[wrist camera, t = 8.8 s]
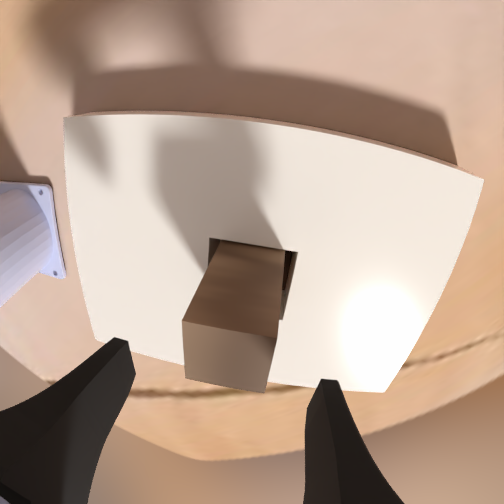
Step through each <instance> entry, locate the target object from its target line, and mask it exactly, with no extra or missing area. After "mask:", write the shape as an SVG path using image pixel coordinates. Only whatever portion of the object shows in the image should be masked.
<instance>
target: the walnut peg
mask: <svg viewBox="0 0 504 504" xmlns="http://www.w3.org/2000/svg"><path fill="white" fill-rule="evenodd" d="M284 259H285V250H283V249H277V248H271V247H265V246H259V245H253V244H247V243H241V242H235V241H229V240H221V242H220V244H219V246H218V248H217V250H216V252H215V254H214V256H213V258H212V260H211V262H210V264H209V266H208V268H207V270H206V272H205V274H204V276H203V278H202V280H201V282H200V284H199V286H198V288H197V290H196V292H195V294H194V296H193V298H192V300H191V302H190V304H189V306H188V308H187V311H186V313H185V315H184V317H183V319H182V337H183V352H184V366H185V378H187V379H191V380H195V381H200V382H204V383H209V384H214V385H219V386H224V387H229V388H235V389H241V390H246V391H253V392H259V393H264V392H265V388H266V384H267V380H268V376H269V372H270V368H271V364H272V359H273V355H274V351H275V347H276V342H277V338H278V327H279V317H280V306H281V295H282V283H283V272H284Z"/></svg>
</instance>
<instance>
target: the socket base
mask: <svg viewBox="0 0 504 504" xmlns="http://www.w3.org/2000/svg"><path fill="white" fill-rule="evenodd" d="M64 160H65V176H66V189H67V199H68V208H69V217H70V224H71V231H72V238H73V244H74V250H75V256H76V261H77V266H78V271H79V276H80V281H81V285H82V290H83V294H84V298H85V302H86V306H87V310H88V314H89V318H90V322H91V325H92V329H93V332H94V336H95V339H96V340H98V341H101V342H104V343H107V342H108V341H110V340H111V339H112V338H114V337H116V338H120V339H123V340H127V341H128V343H129V347H130V351H133V352H136V353H139V354H143V355H146V356H150V357H154V358H157V359H161V360H165V361H169V362H173V363H177V364H181V365H184V352H183V337H182V319H183V317H184V315H185V313H186V311H187V308H188V306H189V304H190V302H191V300H192V298H193V296H194V294H195V292H196V290H197V288H198V286H199V284H200V282H201V280H202V278H203V276H204V274H205V272H206V270H207V268H208V266H209V264H210V262H211V260H212V258H213V256H214V254H215V252H216V250H217V248H218V246H219V244H220V239H222V240H229V241H235V242H241V243H247V244H253V245H259V246H265V247H271V248H277V249H283V250H289V251H293V255H292V259H291V264H290V269H289V274H288V278H287V283H286V288H285V290H282V295H281V306H280V317H279V327H278V338H277V342H276V347H275V351H274V355H273V359H272V364H271V368H270V372H269V376H268V380H267V382H274V383H281V384H288V385H296V386H304V387H313V388H317V386H318V384H319V382H320V380H321V379H331V380H338V382H339V384H340V387H341V390H347V391H362V392H385V390H386V389H387V388H388V386H389V385H390V383H391V382H392V380H393V379H394V377H395V376H396V374H397V372H398V371H399V369H400V368H401V366H402V365H403V363H404V361H405V360H406V358H407V357H408V355H409V353H410V352H411V350H412V348H413V347H414V345H415V343H416V341H417V340H418V338H419V336H420V334H421V333H422V331H423V329H424V327H425V325H426V323H427V322H428V320H429V318H430V316H431V314H432V312H433V310H434V308H435V306H436V304H437V302H438V300H439V298H440V296H441V294H442V292H443V290H444V288H445V285H446V283H447V281H448V279H449V277H450V274H451V272H452V270H453V268H454V265H455V263H456V261H457V258H458V256H459V253H460V251H461V248H462V246H463V243H464V240H465V238H466V235H467V232H468V230H469V227H470V224H471V221H472V218H473V215H474V212H475V209H476V206H477V203H478V200H479V196H480V193H481V190H482V186H483V183H484V179H482V178H480V177H478V176H477V175H475V174H473V173H471V172H469V171H467V170H465V169H463V168H461V167H459V166H457V165H454V164H452V163H449V162H446V161H443V160H440V159H437V158H434V157H431V156H428V155H425V154H422V153H418V152H415V151H412V150H409V149H405V148H402V147H398V146H395V145H391V144H387V143H384V142H380V141H376V140H372V139H368V138H364V137H360V136H356V135H351V134H347V133H342V132H337V131H333V130H328V129H323V128H317V127H312V126H307V125H301V124H295V123H289V122H282V121H275V120H268V119H261V118H253V117H244V116H234V115H224V114H212V113H198V112H178V111H105V112H91V113H85V114H79V115H74V116H69V117H64Z"/></svg>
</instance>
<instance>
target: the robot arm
mask: <svg viewBox="0 0 504 504" xmlns="http://www.w3.org/2000/svg"><path fill="white" fill-rule="evenodd" d="M42 191H43V192H42ZM38 272H39V273H42V274H46V275H49V276H52V277H56V278H59V279H64V278H65V277H66V271H65V267H64V262H63V257H62V252H61V247H60V241H59V236H58V230H57V223H56V217H55V209H54V202H53V193H52V188H51V186H50V185H48V184H36V183H21V182H4V181H0V308H1V307H2V306H3V305H4V304H5V303H6V302H7V301H8V300H9V299H10V298H11V297H12V296H13V295H14V294H15V293H16V292H17V291H18V290H19V289H20V288H22V287H23V286H24V285H25V284H26V283H27V282H28V281H29V280H30V279H31V278H32V277H34V276H35V275H36V274H37V273H38ZM135 375H136V373H135V369H134V365H133V360H132V356H131V352H130V347H129V343H128V341H127V340H123V339H120V338H116V337H114V338H112V339H111V340H110V341H108V342H107V343H106V344H105V345H104V346H102V347H101V348H100V349H99V350H98V351H96V352H95V353H94V354H93V355H91V356H90V357H89V358H88V359H87V360H85V361H84V362H83V363H81V364H80V365H79V366H78V367H76V368H75V369H74V370H73V371H71V372H70V373H69V374H67V375H66V376H64V377H63V378H62V379H60V380H59V381H57V382H56V383H55V384H53V385H52V386H50V387H49V388H47V389H45V390H44V391H42V392H40V393H39V394H37V395H35V396H33V397H31V398H29V399H28V400H26V401H24V402H22V403H19V404H17V405H15V406H13V407H10V408H8V409H5V410H3V411H0V504H87V503H88V497H89V493H90V489H91V484H92V480H93V477H94V473H95V470H96V466H97V463H98V460H99V457H100V454H101V451H102V448H103V445H104V443H105V441H106V438H107V436H108V434H109V432H110V430H111V428H112V426H113V424H114V422H115V420H116V419H117V417H118V415H119V413H120V411H121V409H122V407H123V405H124V403H125V401H126V399H127V397H128V395H129V392H130V389H131V387H132V384H133V381H134V378H135ZM303 504H404V503H403V502H402V500H401V499H400V498H399V496H398V495H397V494H396V493H395V491H393V489H392V488H391V486H390V485H389V484H388V482H387V481H386V479H385V478H384V476H383V475H382V473H381V472H380V470H379V468H378V467H377V465H376V464H375V462H374V460H373V459H372V457H371V455H370V453H369V451H368V449H367V448H366V445H365V444H364V442H363V439H362V437H361V435H360V433H359V431H358V429H357V427H356V424H355V422H354V420H353V418H352V415H351V413H350V410H349V408H348V406H347V403H346V400H345V398H344V395H343V392H342V390H341V387H340V384H339V382H338V380H331V379H321V380H320V382H319V384H318V386H317V388H316V390H315V393H314V395H313V397H312V399H311V401H310V403H309V405H308V407H307V414H306V424H305V493H304V501H303Z"/></svg>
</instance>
